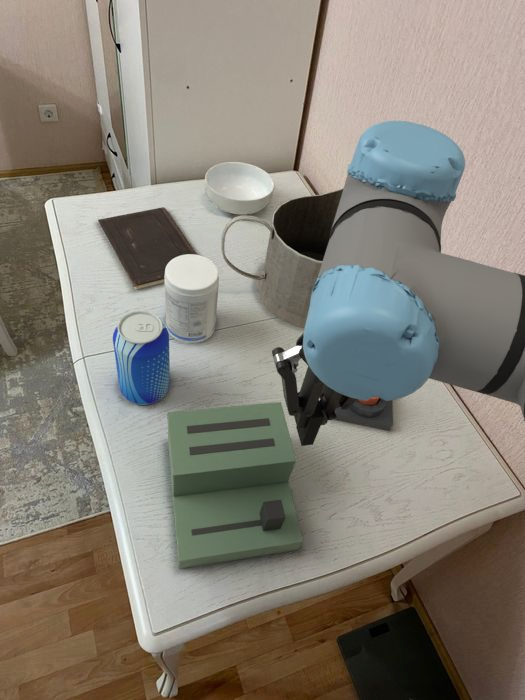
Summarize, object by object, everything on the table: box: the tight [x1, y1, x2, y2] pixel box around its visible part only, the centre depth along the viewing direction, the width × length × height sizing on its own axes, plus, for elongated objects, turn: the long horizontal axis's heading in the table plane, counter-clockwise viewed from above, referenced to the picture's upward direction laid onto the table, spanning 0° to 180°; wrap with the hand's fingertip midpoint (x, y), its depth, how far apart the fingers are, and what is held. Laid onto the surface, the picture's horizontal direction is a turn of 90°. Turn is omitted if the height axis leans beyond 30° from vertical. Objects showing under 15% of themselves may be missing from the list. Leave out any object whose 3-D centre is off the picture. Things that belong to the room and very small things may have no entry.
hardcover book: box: [97, 206, 198, 290], centre depth 110 cm, size 16×23×2 cm
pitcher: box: [220, 187, 344, 330], centre depth 98 cm, size 23×32×25 cm
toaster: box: [167, 401, 304, 570], centre depth 72 cm, size 19×17×11 cm
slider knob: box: [260, 500, 285, 531], centre depth 69 cm, size 3×3×4 cm
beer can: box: [112, 310, 171, 406], centre depth 81 cm, size 8×8×16 cm
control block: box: [332, 398, 394, 432], centre depth 89 cm, size 8×10×4 cm
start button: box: [358, 397, 379, 406], centre depth 87 cm, size 4×4×2 cm
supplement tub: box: [164, 254, 220, 344], centre depth 92 cm, size 10×10×15 cm
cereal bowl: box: [204, 161, 275, 216], centre depth 124 cm, size 17×17×7 cm
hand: (304, 435), depth 63 cm, fingers closed
